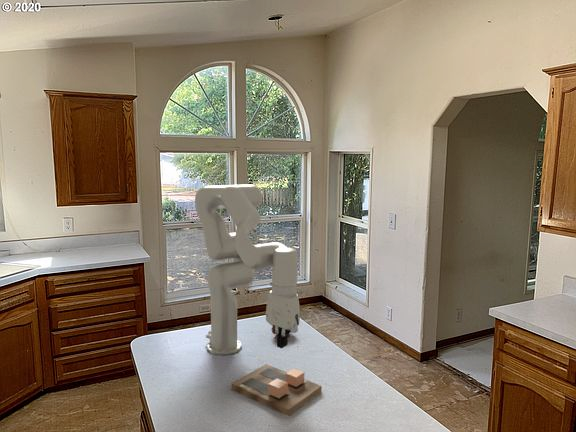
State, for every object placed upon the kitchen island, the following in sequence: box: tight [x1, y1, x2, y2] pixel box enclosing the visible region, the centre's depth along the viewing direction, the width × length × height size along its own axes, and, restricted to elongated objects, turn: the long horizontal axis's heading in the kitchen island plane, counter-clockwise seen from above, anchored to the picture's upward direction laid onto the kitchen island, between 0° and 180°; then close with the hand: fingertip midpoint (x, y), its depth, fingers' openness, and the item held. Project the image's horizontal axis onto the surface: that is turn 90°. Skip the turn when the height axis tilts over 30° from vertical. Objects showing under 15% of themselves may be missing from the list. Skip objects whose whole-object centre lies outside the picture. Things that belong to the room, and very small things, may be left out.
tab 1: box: [268, 378, 288, 398], centre depth 124 cm, size 4×4×3 cm
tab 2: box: [286, 368, 305, 387], centre depth 130 cm, size 4×4×3 cm
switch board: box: [230, 364, 322, 417], centre depth 130 cm, size 22×16×2 cm
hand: (282, 346), depth 133 cm, fingers closed
